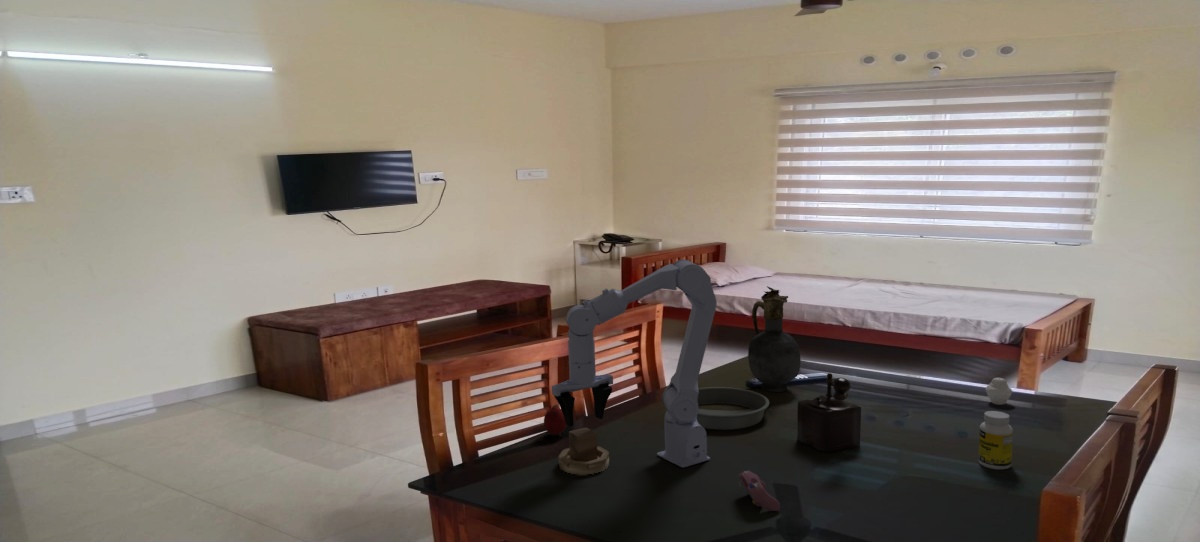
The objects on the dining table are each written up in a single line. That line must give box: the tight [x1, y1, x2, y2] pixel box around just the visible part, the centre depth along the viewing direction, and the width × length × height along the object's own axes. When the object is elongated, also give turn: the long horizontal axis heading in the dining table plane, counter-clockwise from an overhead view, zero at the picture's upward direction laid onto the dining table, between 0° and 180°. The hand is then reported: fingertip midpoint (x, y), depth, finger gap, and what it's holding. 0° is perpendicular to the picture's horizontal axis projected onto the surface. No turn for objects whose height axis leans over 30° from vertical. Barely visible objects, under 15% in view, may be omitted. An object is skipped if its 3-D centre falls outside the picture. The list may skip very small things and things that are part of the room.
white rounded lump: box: [985, 377, 1013, 406], centre depth 196 cm, size 6×6×7 cm
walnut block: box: [568, 426, 598, 462], centre depth 163 cm, size 4×4×6 cm
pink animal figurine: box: [738, 469, 781, 512], centre depth 142 cm, size 10×5×7 cm, turn 5°
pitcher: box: [747, 286, 802, 393], centre depth 215 cm, size 11×19×30 cm, turn 19°
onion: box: [543, 403, 568, 437], centre depth 182 cm, size 6×6×8 cm
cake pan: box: [697, 386, 770, 430], centre depth 193 cm, size 25×25×4 cm
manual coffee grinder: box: [796, 372, 862, 453], centre depth 169 cm, size 16×11×18 cm
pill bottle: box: [978, 410, 1014, 471], centre depth 156 cm, size 6×6×11 cm
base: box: [557, 445, 610, 476], centre depth 163 cm, size 11×11×2 cm
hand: (584, 421), depth 163 cm, fingers open, 7 cm apart
